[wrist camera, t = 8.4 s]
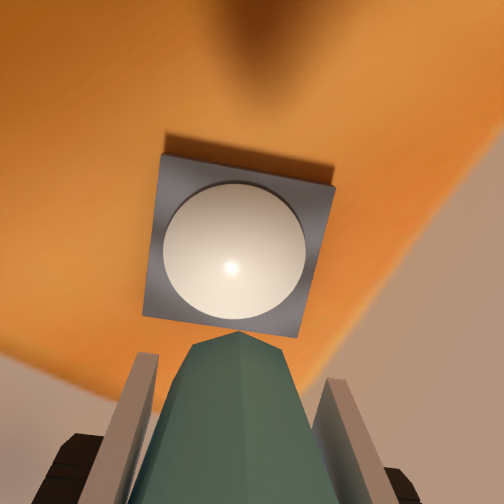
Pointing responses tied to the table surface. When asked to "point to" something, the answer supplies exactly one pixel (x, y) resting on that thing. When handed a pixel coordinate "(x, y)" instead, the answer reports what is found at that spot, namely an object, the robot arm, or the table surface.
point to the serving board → (233, 246)
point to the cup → (233, 433)
